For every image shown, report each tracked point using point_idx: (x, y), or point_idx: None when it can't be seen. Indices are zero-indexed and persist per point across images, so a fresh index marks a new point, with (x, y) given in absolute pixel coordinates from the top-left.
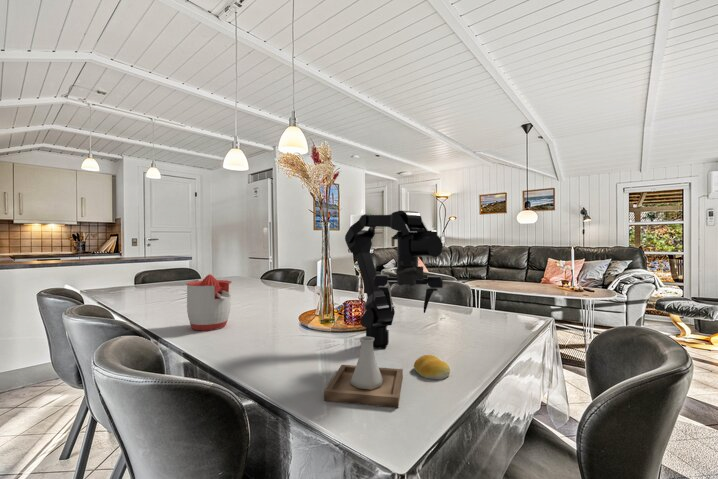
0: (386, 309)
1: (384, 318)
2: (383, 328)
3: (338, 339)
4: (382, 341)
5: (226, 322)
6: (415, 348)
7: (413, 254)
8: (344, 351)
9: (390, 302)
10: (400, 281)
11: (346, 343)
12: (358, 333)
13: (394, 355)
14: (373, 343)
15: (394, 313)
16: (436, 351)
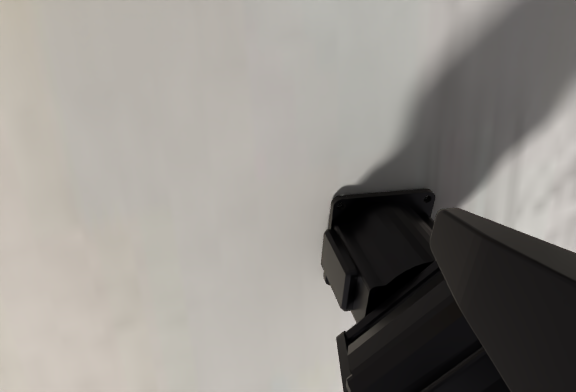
0: (432, 376)
1: (414, 304)
2: (381, 281)
3: None
4: (358, 231)
5: None
6: (179, 250)
7: None
8: (527, 117)
9: (545, 261)
10: None
11: (505, 224)
12: None
13: (281, 118)
14: (400, 208)
15: (348, 382)
16: (55, 238)
